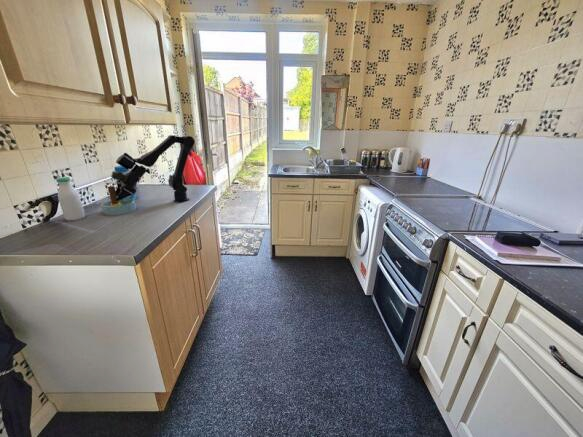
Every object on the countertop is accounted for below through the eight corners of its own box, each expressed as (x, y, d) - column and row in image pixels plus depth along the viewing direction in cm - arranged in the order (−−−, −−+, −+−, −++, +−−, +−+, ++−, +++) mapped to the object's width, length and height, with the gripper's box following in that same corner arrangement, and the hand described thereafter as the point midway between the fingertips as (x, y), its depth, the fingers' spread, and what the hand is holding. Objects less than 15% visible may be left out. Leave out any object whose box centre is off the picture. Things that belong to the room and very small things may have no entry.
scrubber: (118, 209, 132) (113, 185, 127) (123, 210, 130) (118, 186, 126) (110, 211, 128) (103, 187, 124) (115, 212, 126) (108, 188, 122)
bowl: (124, 205, 139) (122, 197, 138) (142, 209, 134) (140, 200, 132) (97, 213, 127) (94, 204, 125) (115, 217, 121) (113, 208, 120)
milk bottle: (89, 217, 122) (77, 177, 115) (70, 222, 115) (57, 180, 108) (80, 214, 125) (68, 175, 118) (62, 219, 118) (47, 178, 111)
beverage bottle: (121, 201, 146) (113, 168, 139) (119, 198, 152) (111, 166, 145) (137, 199, 151) (130, 166, 144) (134, 196, 157) (128, 165, 150)
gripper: (117, 163, 131) (97, 186, 128) (123, 167, 118) (100, 193, 115) (137, 175, 139) (118, 198, 136) (144, 181, 126) (124, 206, 123)
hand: (115, 198), depth 127 cm, fingers open, 9 cm apart
